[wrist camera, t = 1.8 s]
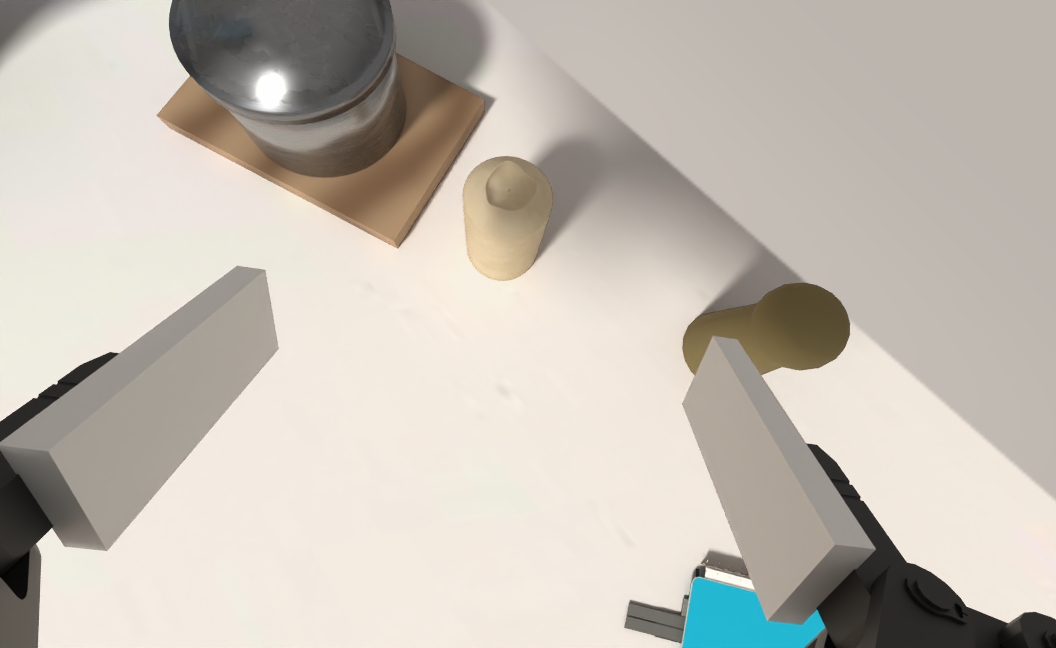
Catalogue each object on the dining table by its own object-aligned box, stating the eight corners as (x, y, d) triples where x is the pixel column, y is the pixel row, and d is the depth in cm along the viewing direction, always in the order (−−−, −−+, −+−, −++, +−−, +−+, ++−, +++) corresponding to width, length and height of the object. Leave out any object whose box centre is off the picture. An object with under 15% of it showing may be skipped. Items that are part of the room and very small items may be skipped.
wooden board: (170, 128, 35) (156, 115, 34) (275, 2, 38) (267, -15, 37) (397, 248, 35) (394, 241, 33) (484, 111, 38) (484, 99, 37)
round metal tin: (204, 131, 34) (120, 45, 26) (302, 11, 37) (253, -99, 29) (355, 211, 34) (317, 149, 26) (441, 84, 37) (430, -7, 29)
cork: (692, 302, 37) (780, 253, 26) (762, 327, 37) (878, 289, 26) (674, 372, 35) (758, 352, 24) (746, 398, 35) (861, 389, 25)
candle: (467, 215, 36) (461, 140, 26) (535, 216, 37) (555, 143, 27) (466, 281, 35) (461, 228, 25) (537, 281, 36) (558, 230, 26)
